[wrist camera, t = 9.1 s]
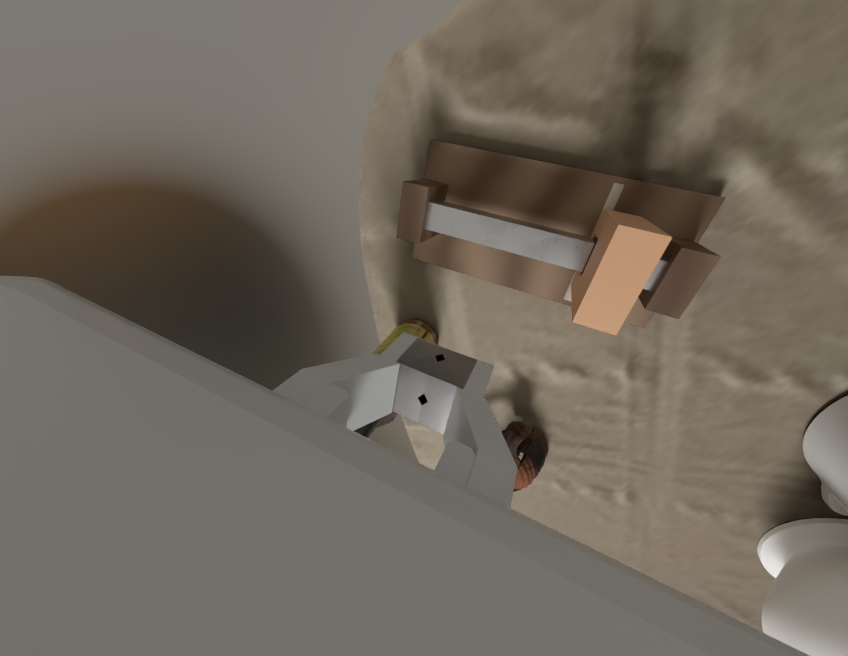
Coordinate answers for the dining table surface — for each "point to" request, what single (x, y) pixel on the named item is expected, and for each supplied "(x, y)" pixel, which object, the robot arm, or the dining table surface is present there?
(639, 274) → the collar
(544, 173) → the rod stand
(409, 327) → the sauce bottle
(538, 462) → the broken clay pot
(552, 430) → the dining table surface
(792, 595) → the decorative vase
